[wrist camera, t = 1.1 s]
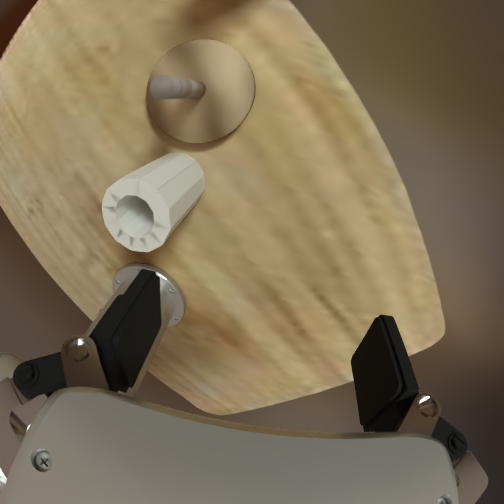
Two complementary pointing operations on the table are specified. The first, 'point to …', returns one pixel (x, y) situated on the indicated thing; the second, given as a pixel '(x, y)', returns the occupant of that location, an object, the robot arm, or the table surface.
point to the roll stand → (200, 91)
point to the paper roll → (152, 201)
